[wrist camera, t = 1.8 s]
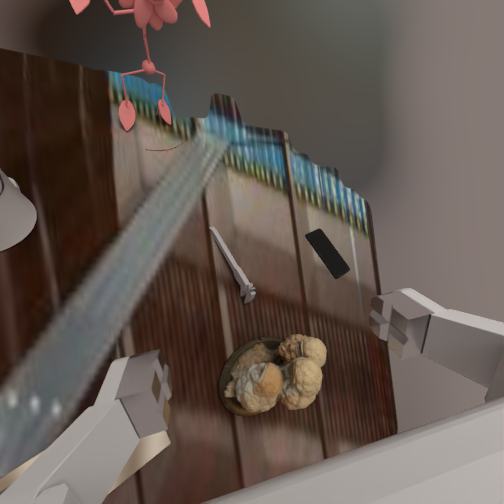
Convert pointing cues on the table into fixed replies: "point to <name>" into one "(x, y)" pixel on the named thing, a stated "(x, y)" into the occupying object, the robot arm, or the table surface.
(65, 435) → the robot arm
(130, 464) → the board
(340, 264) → the smartphone
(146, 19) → the figurine
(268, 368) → the carved stone sculpture
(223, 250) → the caliper
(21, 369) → the table surface
